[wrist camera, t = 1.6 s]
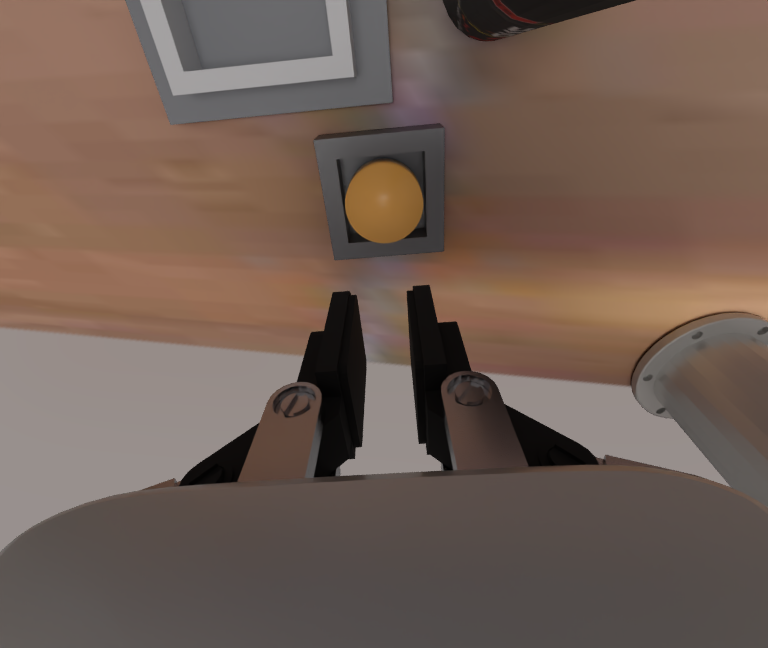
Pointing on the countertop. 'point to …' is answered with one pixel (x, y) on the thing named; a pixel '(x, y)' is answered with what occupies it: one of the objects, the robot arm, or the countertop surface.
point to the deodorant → (516, 15)
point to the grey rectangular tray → (264, 55)
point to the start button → (384, 201)
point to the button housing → (354, 149)
